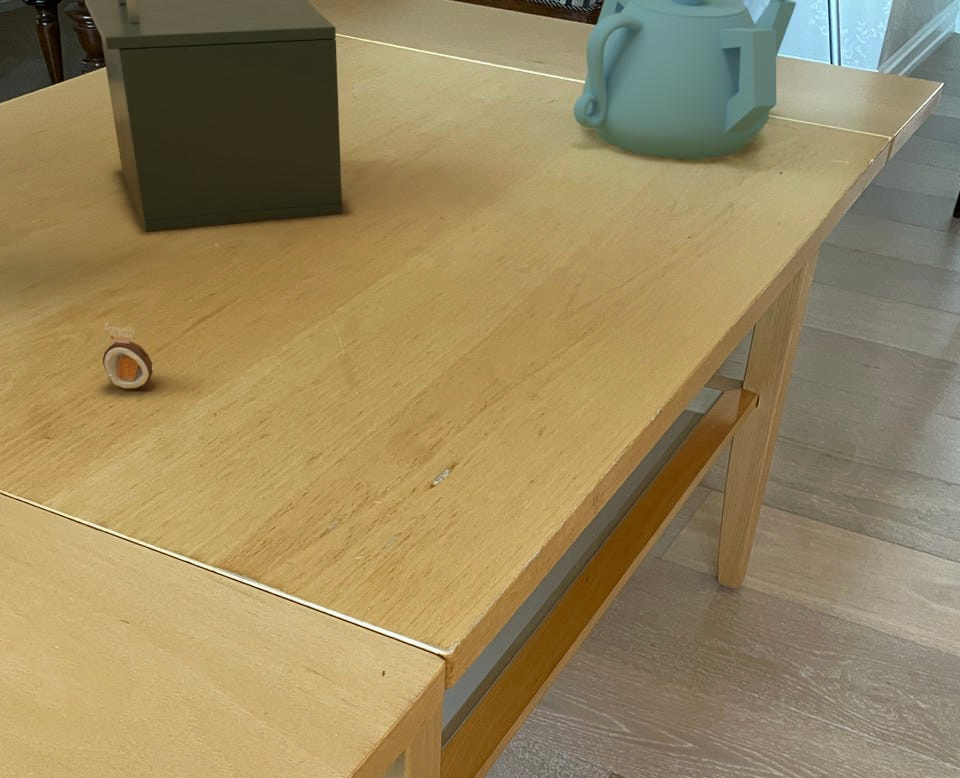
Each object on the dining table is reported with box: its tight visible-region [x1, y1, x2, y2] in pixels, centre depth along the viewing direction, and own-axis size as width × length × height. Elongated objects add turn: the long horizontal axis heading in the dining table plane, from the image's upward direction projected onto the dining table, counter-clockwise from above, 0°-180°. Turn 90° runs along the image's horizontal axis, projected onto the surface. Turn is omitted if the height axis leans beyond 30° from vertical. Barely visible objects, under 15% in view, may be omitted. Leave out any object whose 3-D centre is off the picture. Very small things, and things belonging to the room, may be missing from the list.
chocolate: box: [102, 322, 155, 390], centre depth 69 cm, size 3×2×4 cm
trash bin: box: [100, 36, 343, 232], centre depth 92 cm, size 16×14×13 cm
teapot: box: [573, 0, 797, 160], centre depth 108 cm, size 19×19×14 cm
